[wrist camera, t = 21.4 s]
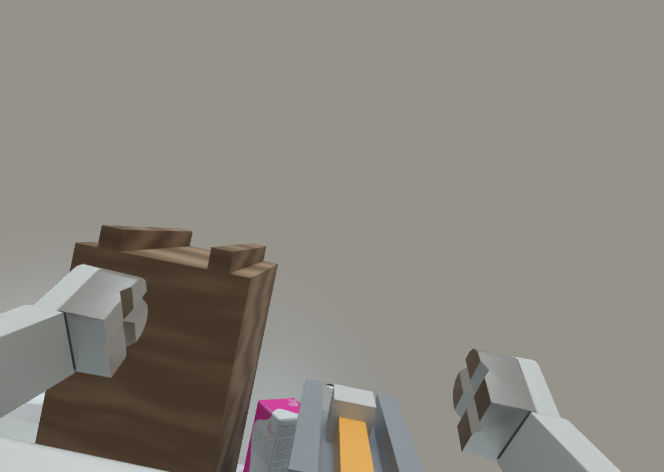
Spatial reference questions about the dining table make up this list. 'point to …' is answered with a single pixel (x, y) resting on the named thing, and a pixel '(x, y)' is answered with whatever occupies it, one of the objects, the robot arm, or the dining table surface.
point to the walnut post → (170, 356)
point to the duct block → (318, 455)
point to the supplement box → (272, 435)
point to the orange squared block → (351, 428)
